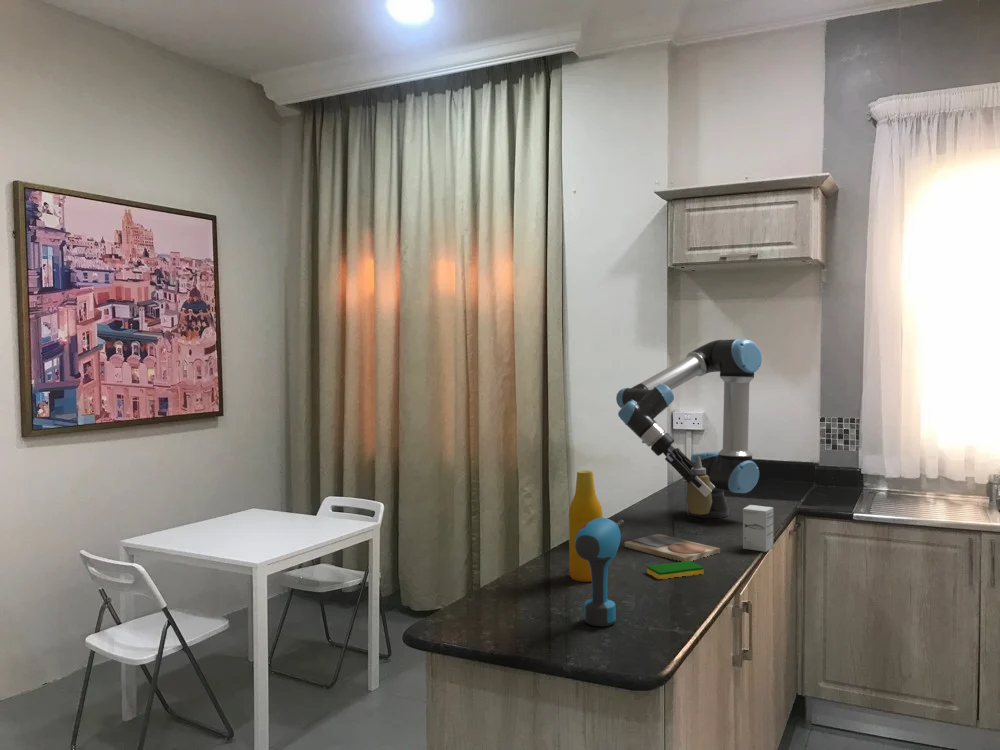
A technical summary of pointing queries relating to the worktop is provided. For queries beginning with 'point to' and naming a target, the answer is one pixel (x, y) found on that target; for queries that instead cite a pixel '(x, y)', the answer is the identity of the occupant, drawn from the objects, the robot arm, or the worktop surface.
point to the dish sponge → (674, 570)
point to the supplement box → (758, 528)
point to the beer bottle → (582, 521)
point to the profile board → (672, 547)
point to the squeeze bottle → (694, 496)
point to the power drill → (599, 566)
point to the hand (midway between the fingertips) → (710, 491)
